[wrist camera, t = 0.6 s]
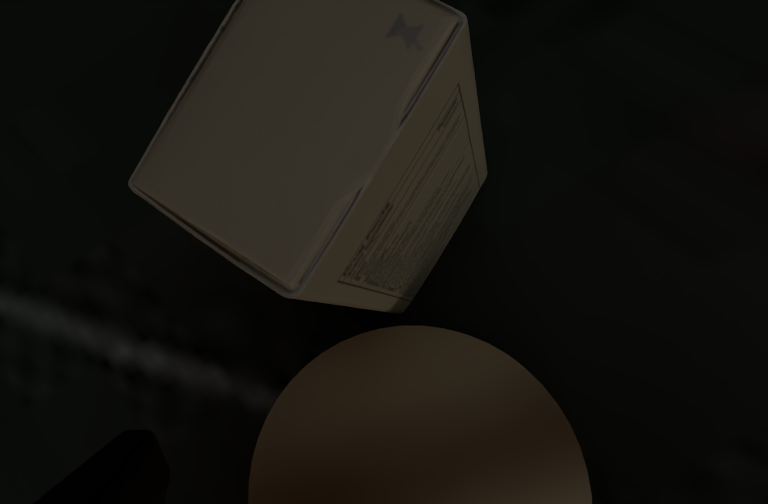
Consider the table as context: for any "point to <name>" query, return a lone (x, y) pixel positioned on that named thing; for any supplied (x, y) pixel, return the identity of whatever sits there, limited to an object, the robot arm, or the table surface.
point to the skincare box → (325, 146)
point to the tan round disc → (416, 428)
